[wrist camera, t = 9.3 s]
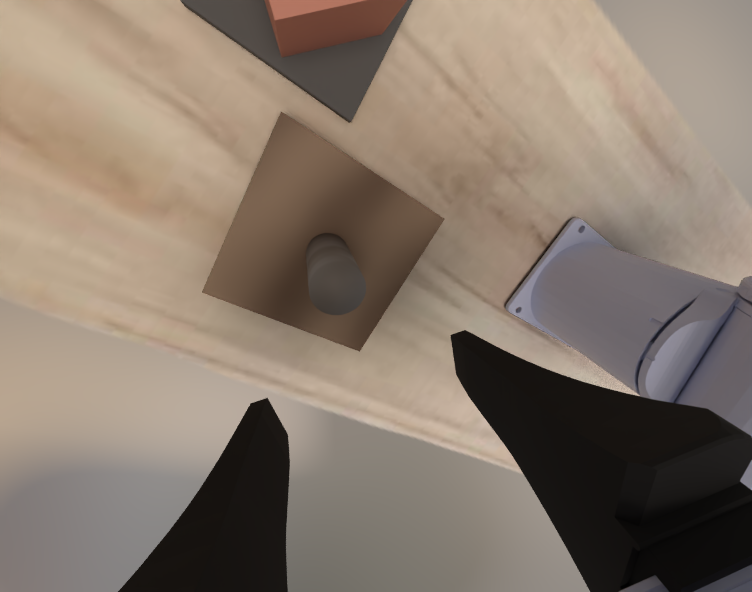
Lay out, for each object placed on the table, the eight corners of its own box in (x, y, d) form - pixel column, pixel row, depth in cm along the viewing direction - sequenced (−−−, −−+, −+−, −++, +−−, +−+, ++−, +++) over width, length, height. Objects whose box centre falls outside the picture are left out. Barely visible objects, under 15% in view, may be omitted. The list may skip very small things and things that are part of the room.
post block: (434, 214, 19) (491, 241, 14) (355, 339, 22) (376, 406, 16) (282, 114, 15) (273, 94, 10) (208, 281, 18) (167, 344, 12)
